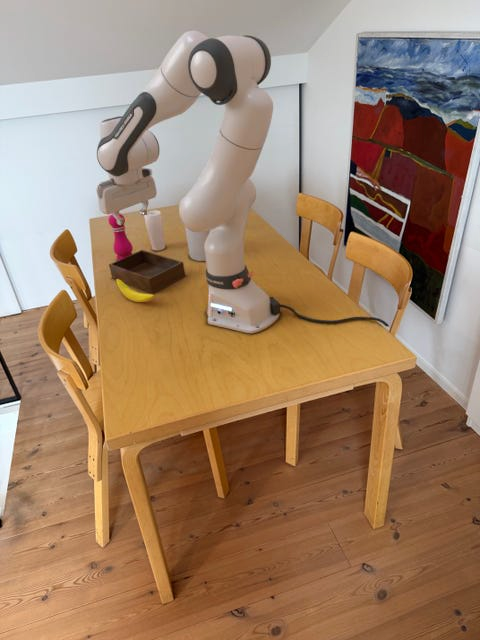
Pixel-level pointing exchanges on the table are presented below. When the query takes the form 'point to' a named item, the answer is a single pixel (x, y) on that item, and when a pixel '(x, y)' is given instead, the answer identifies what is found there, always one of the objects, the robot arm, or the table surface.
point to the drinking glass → (155, 229)
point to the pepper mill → (120, 238)
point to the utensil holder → (196, 244)
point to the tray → (147, 270)
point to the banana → (133, 293)
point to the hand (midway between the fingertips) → (132, 219)
